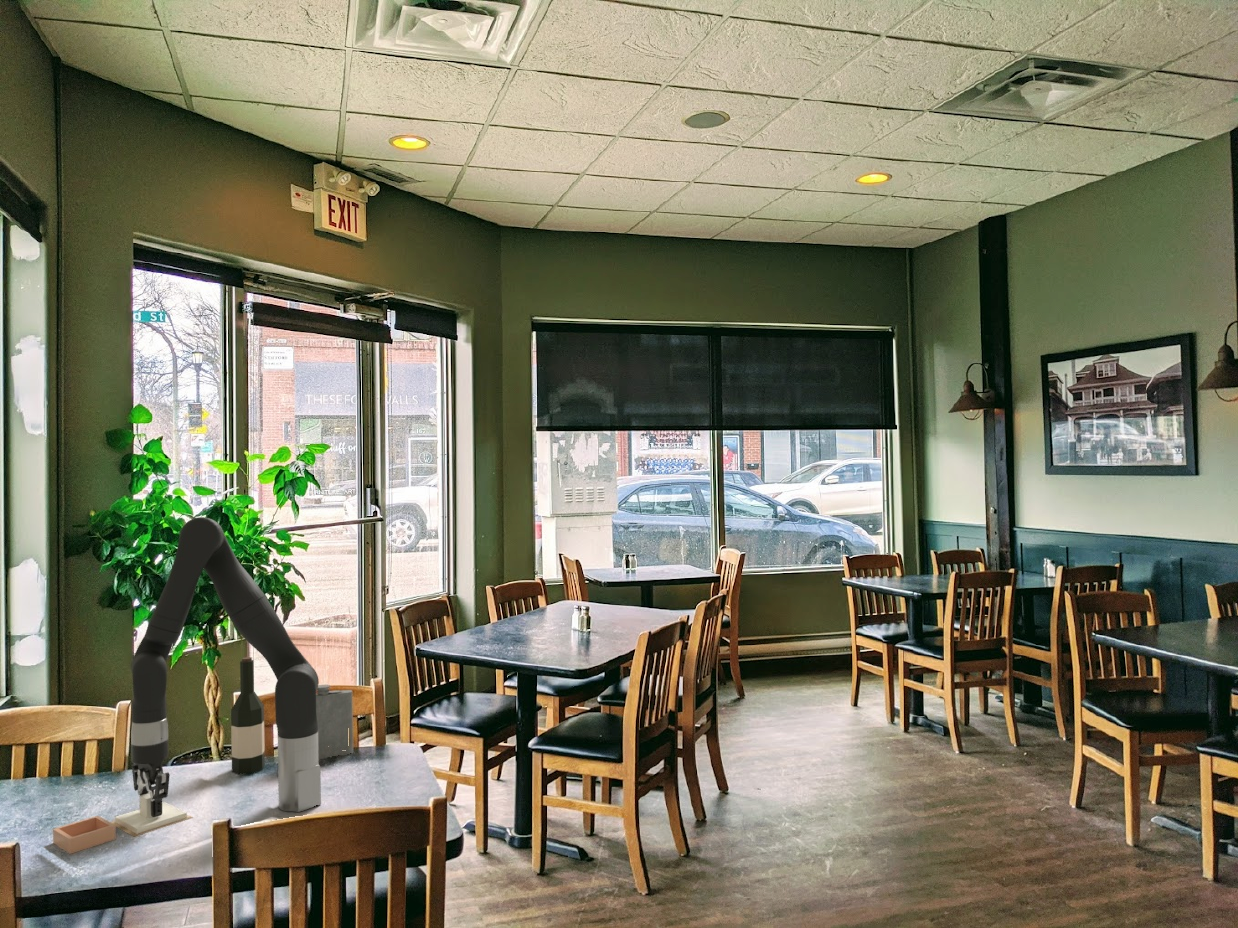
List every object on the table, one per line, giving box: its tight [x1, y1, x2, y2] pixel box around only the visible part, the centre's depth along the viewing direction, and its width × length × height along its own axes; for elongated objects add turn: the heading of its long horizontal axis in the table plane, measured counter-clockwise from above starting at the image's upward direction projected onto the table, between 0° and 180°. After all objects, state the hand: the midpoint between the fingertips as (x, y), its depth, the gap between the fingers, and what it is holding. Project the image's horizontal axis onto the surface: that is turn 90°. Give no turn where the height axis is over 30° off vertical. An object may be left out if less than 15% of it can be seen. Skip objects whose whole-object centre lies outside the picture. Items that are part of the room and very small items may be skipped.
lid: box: [114, 790, 188, 834], centre depth 204 cm, size 11×11×6 cm
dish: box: [52, 815, 117, 855], centre depth 193 cm, size 9×9×4 cm
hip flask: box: [316, 684, 354, 761], centre depth 250 cm, size 16×4×20 cm, turn 124°
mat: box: [109, 814, 194, 838], centre depth 204 cm, size 13×13×1 cm
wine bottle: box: [230, 656, 266, 775], centre depth 241 cm, size 8×8×30 cm
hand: (150, 812), depth 204 cm, fingers open, 5 cm apart
